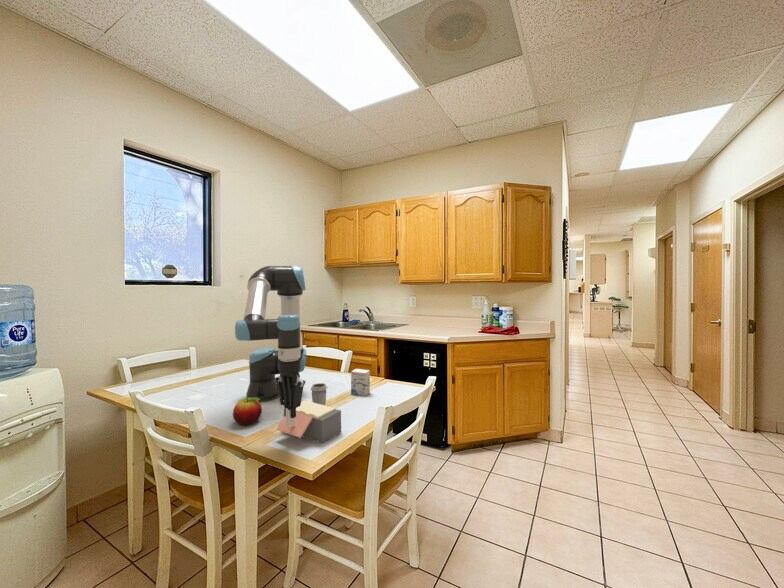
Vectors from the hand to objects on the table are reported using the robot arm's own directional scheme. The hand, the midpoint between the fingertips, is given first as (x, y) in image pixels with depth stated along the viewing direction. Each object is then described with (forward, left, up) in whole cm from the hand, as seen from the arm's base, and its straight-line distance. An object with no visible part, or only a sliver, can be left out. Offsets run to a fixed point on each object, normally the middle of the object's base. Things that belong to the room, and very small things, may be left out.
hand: (290, 426), depth 114 cm
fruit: (-29, +3, -6) cm, 29 cm away
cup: (-11, +25, -6) cm, 28 cm away
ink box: (-10, +53, -6) cm, 54 cm away
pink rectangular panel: (-1, +2, 0) cm, 2 cm away
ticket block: (-1, +11, -6) cm, 12 cm away
